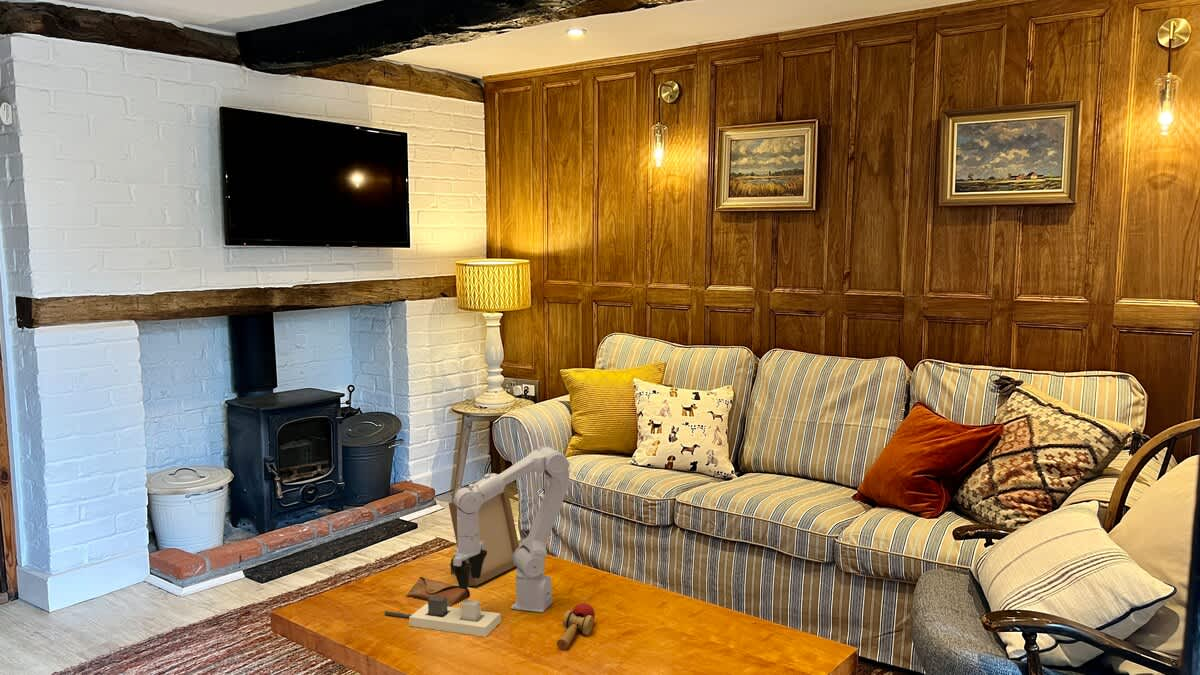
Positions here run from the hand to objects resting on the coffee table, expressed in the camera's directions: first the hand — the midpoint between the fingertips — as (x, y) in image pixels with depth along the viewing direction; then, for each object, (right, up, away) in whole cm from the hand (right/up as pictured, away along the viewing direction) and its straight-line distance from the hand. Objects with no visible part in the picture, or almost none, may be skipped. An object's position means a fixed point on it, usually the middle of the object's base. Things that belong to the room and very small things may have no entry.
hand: (469, 583), depth 235 cm
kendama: (+29, -11, -11) cm, 32 cm away
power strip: (-8, -10, -2) cm, 13 cm away
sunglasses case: (-12, -9, +15) cm, 21 cm away
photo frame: (-1, -6, +33) cm, 34 cm away
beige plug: (+1, -9, -5) cm, 11 cm away
